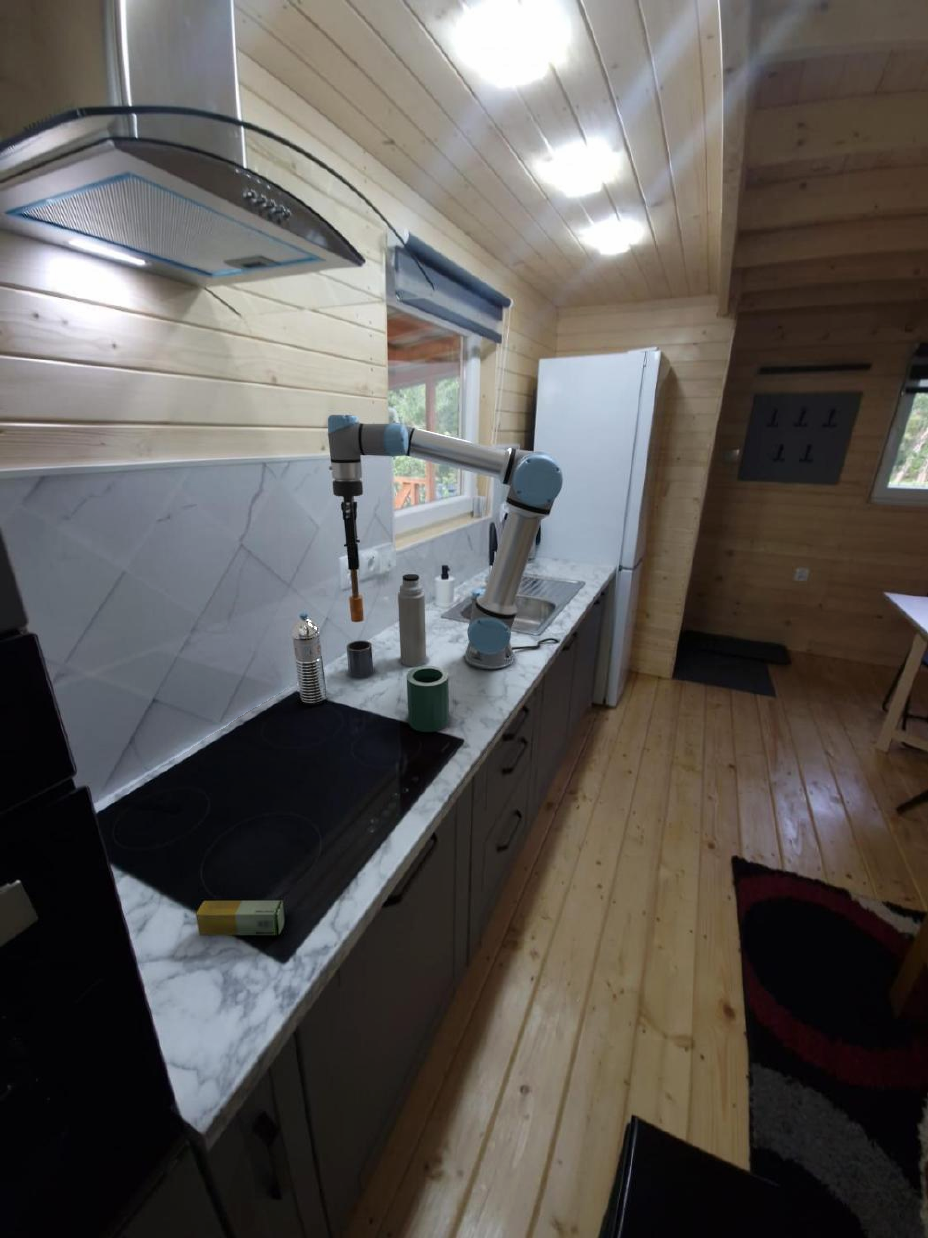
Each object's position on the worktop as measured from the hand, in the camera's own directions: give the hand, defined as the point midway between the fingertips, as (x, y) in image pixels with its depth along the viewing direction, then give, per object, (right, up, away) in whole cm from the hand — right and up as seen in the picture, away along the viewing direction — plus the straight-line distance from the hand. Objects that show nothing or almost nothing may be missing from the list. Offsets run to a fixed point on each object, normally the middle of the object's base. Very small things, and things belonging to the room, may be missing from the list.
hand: (353, 567), depth 136 cm
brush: (0, -14, +6) cm, 15 cm away
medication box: (-3, -61, -61) cm, 86 cm away
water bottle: (-11, -36, -1) cm, 38 cm away
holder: (-1, -30, +13) cm, 33 cm away
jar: (+21, -40, -10) cm, 46 cm away
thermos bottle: (+14, -27, +21) cm, 37 cm away
